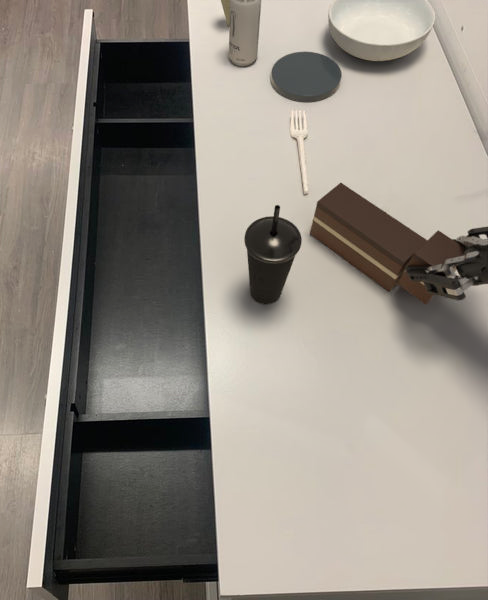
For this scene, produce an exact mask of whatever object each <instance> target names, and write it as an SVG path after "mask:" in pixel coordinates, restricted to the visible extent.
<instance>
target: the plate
mask: <svg viewBox="0 0 488 600" xmlns="http://www.w3.org/2000/svg"><path fill="white" fill-rule="evenodd" d="M270 73H271V74H270V82H271V85H272V87H273V89H274V90H275V91H276V92H277V93H278V94H279V95H280V96H282V97H284V98H286V99H288V100H291V101H294V102H300V103H313V102H319V101H323V100H326V99H328V98H330V97H331V96H333V95H334V94H335V93H336V92H337V91H338V89H339V87H340V85H341V81H342V77H343V76H342V74H343V73H342V70H341V67H340V66H339V65H338V63H337V62H336V61H335V60H333V59H332V58H331V57H329V56H328V55H324V54H322V53H319V52H314V51H296V52H292V53H288V54H285V55H284V56H282V57H280V58H278V60H277V61H275V63H274V64H273V65H272V68H271V72H270Z"/></svg>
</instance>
